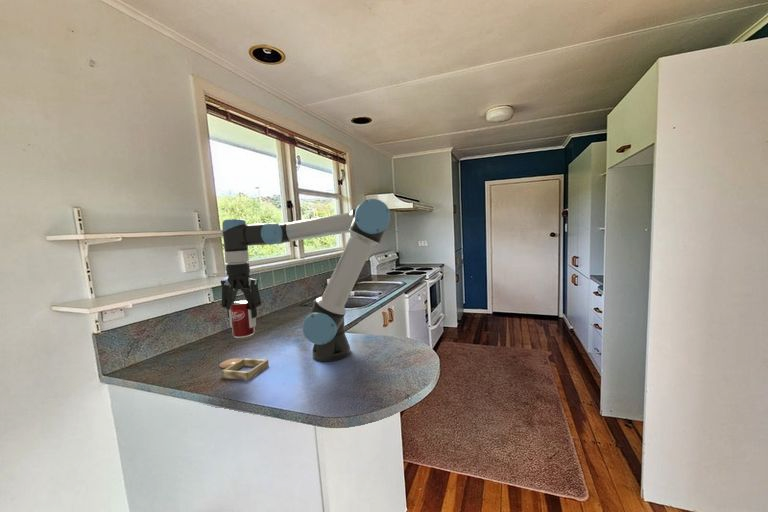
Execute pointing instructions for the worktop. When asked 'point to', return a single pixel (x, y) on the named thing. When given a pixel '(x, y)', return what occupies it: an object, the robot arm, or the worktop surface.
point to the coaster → (229, 362)
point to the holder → (245, 375)
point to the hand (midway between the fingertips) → (243, 326)
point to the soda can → (240, 319)
